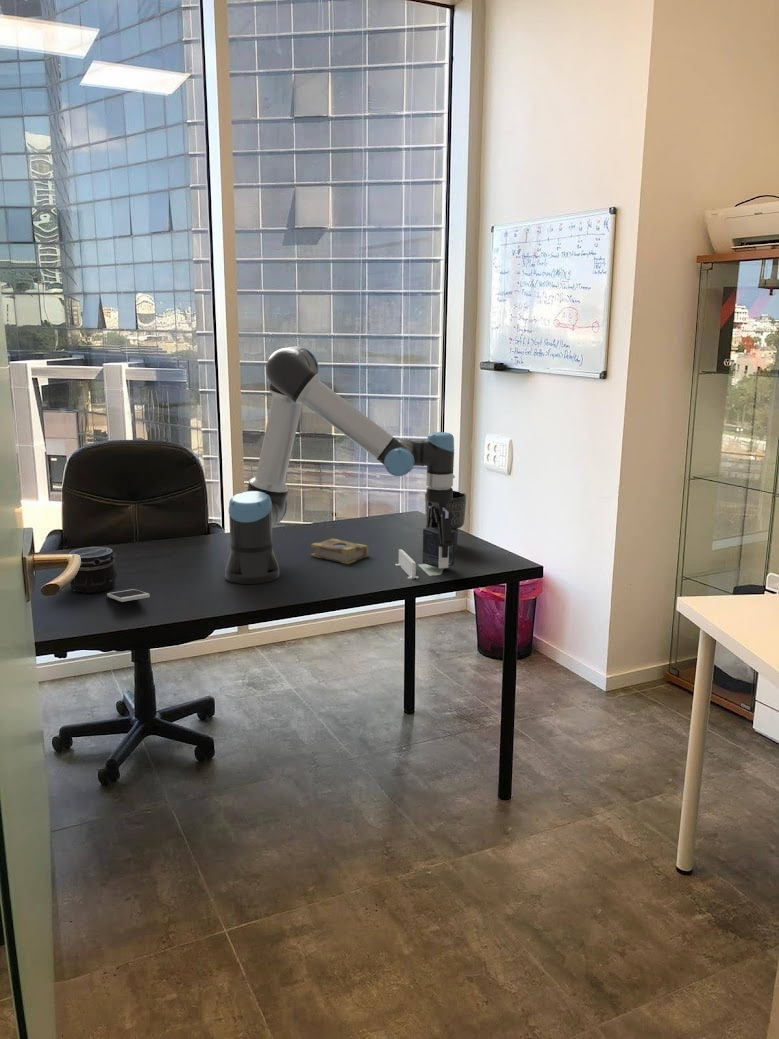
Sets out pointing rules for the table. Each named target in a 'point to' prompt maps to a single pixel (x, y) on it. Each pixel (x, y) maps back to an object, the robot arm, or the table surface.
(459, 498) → the planter
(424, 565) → the pad
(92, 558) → the container
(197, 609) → the table surface
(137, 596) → the smartphone
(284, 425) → the robot arm
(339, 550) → the book
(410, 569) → the handle
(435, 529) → the box
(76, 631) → the table surface
